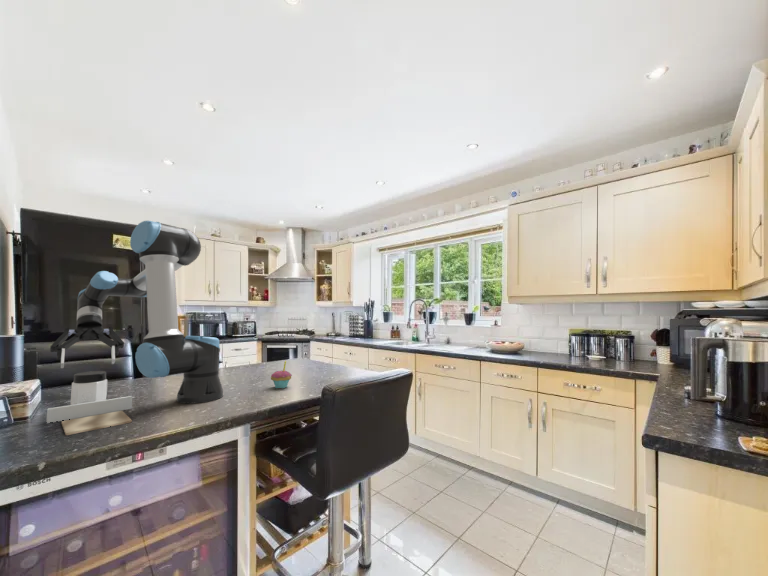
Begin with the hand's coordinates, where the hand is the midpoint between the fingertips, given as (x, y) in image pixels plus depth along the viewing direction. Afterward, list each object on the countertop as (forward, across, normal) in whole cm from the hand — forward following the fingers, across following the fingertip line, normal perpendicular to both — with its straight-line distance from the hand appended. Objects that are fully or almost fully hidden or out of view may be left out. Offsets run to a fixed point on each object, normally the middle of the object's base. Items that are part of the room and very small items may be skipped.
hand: (88, 363), depth 118 cm
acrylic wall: (+23, -1, +3) cm, 23 cm away
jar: (+17, 0, -3) cm, 17 cm away
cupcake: (+27, -62, +7) cm, 67 cm away
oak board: (+30, -2, +11) cm, 32 cm away
